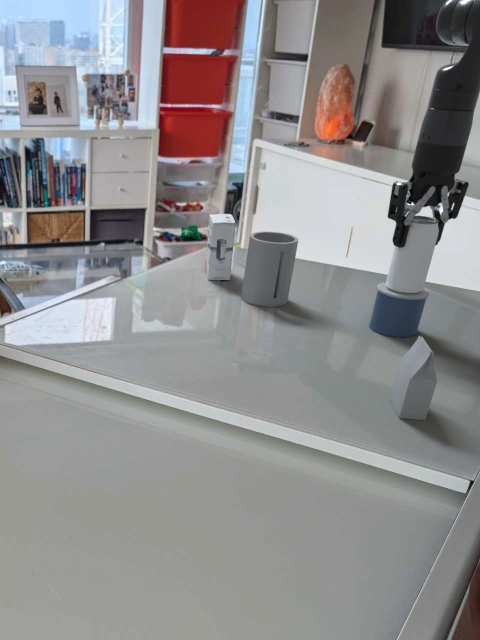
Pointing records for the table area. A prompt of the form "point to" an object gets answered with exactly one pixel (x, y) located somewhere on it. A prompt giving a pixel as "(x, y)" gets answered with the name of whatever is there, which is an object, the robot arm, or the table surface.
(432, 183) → the robot arm
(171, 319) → the table surface
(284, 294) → the cup
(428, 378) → the grey milk carton
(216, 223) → the ink box
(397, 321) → the yogurt tub
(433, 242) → the can
